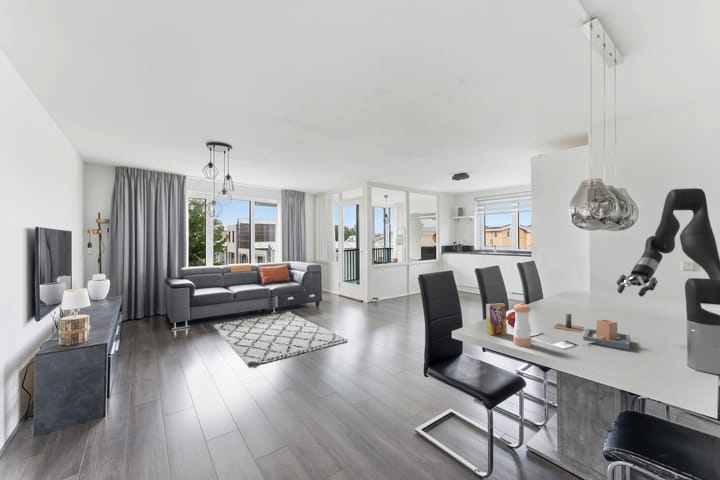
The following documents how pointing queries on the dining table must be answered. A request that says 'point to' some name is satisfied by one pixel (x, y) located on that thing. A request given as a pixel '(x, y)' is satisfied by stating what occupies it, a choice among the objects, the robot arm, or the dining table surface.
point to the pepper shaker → (522, 325)
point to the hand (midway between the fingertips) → (629, 293)
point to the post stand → (568, 325)
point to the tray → (609, 341)
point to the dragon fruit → (511, 318)
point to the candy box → (496, 319)
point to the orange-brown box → (607, 330)
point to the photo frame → (559, 345)
